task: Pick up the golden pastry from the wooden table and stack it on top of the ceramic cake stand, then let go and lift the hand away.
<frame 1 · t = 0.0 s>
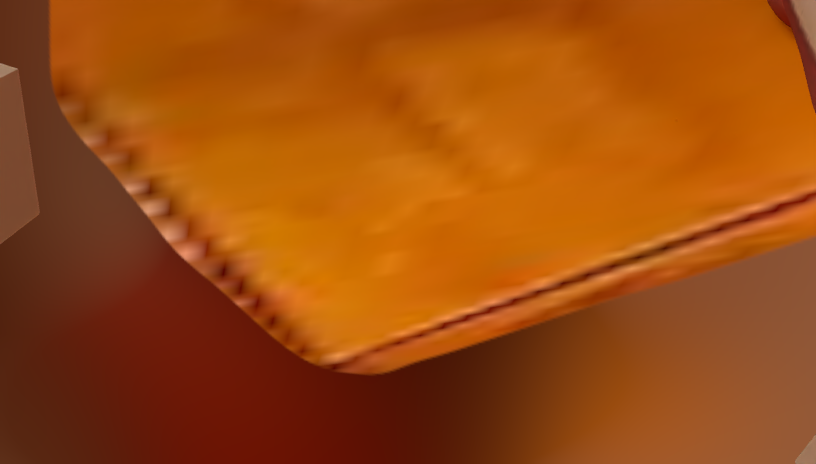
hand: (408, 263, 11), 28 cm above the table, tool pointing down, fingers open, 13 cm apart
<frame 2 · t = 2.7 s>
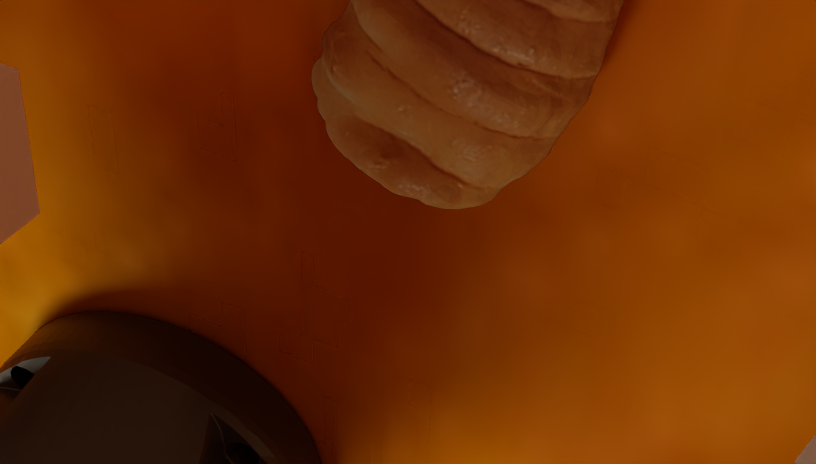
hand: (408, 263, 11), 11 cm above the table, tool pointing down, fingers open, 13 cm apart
pastry: (472, 25, 20), on the table
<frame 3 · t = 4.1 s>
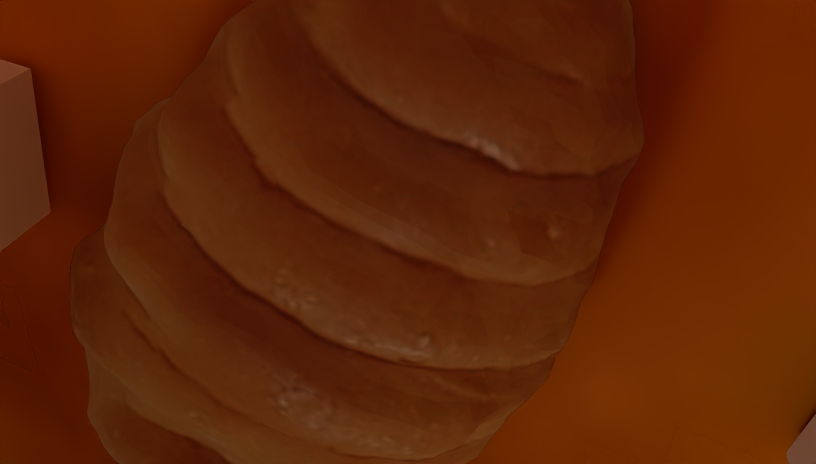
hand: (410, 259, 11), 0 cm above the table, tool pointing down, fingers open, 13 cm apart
pastry: (356, 211, 12), on the table
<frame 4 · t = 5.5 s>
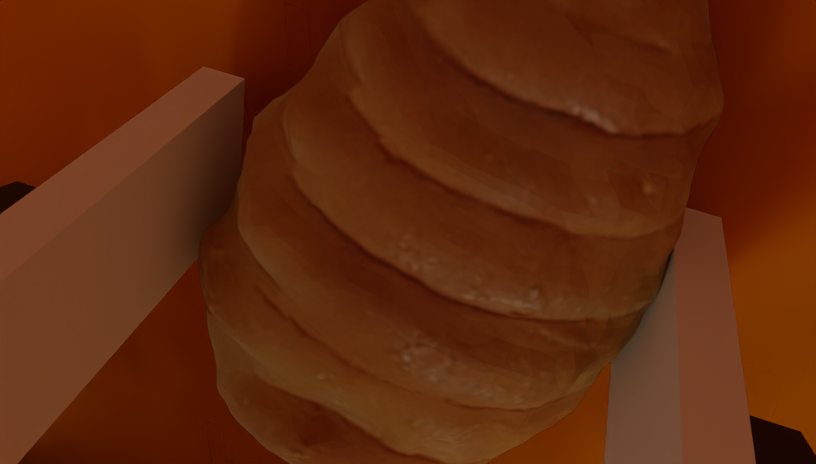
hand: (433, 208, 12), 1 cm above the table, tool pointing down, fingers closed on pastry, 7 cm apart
pastry: (445, 193, 13), on the table, touching gripper
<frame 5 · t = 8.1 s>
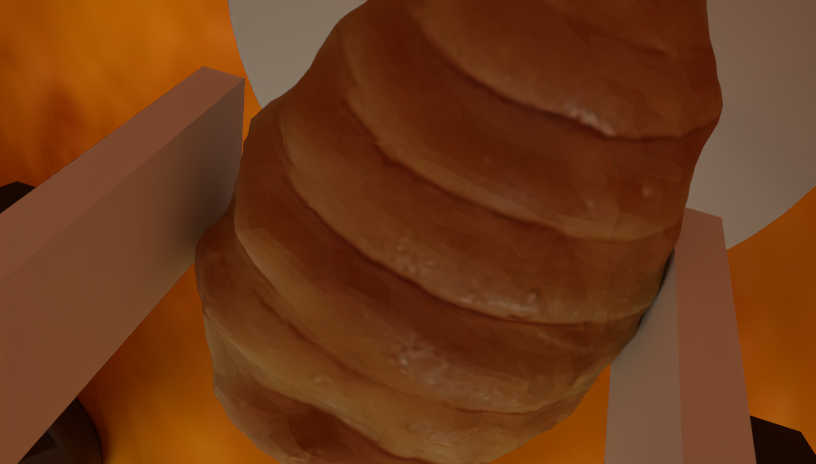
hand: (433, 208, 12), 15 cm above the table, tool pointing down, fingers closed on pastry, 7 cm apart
pastry: (443, 195, 13), point 15 cm above the table, touching gripper
when the fingers open (7 cm above the table, at t = 10.5 s): pastry stays where it is, resting on cake stand.
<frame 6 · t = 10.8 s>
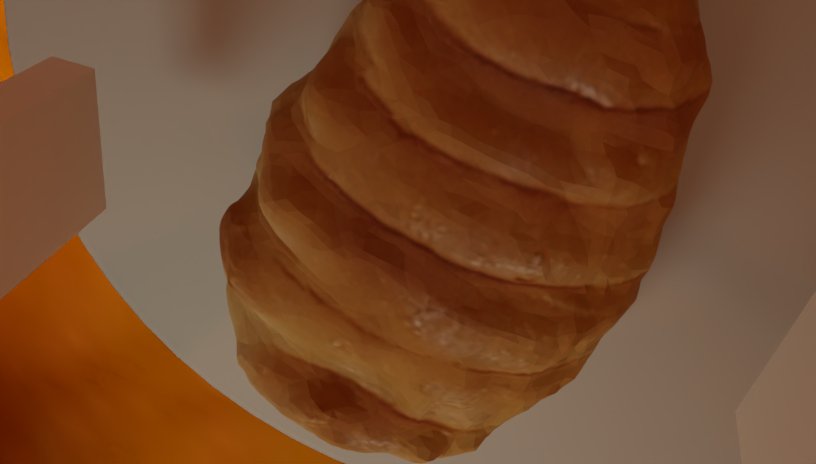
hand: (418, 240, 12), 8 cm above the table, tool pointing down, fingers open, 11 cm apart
cake stand: (502, 61, 18), on the table
pastry: (452, 175, 14), point 6 cm above the table, touching cake stand
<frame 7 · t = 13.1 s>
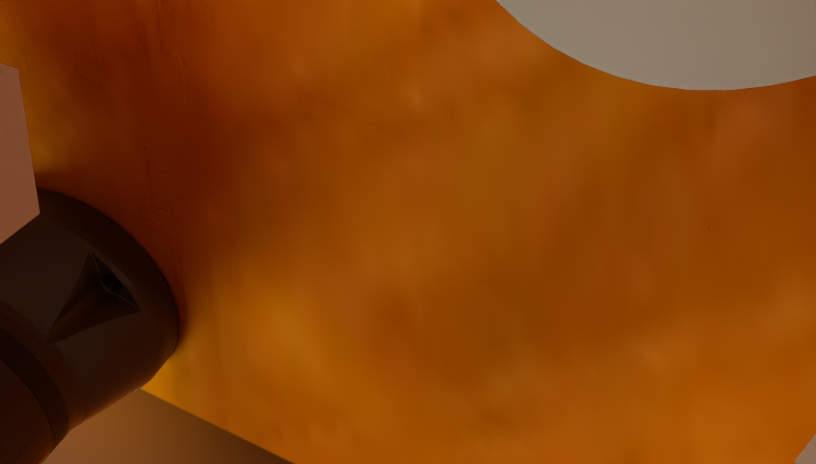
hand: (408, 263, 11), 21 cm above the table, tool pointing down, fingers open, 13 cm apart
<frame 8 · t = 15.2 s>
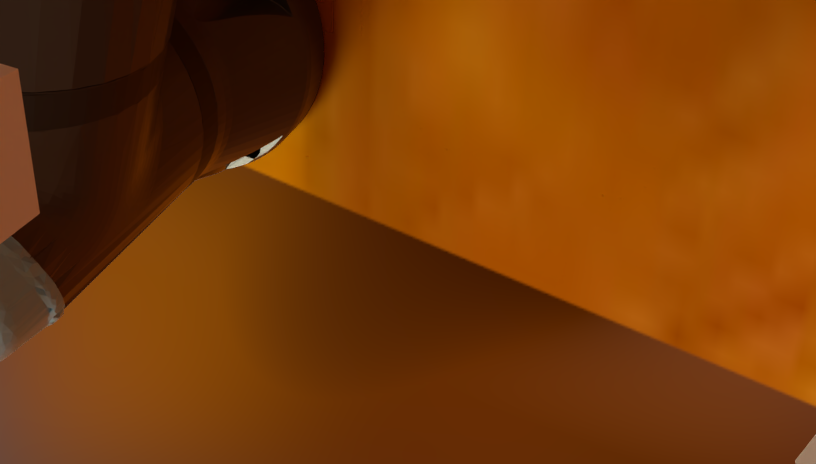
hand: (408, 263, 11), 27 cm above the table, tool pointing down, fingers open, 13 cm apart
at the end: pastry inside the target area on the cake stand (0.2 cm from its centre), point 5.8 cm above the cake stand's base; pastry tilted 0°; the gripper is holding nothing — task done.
